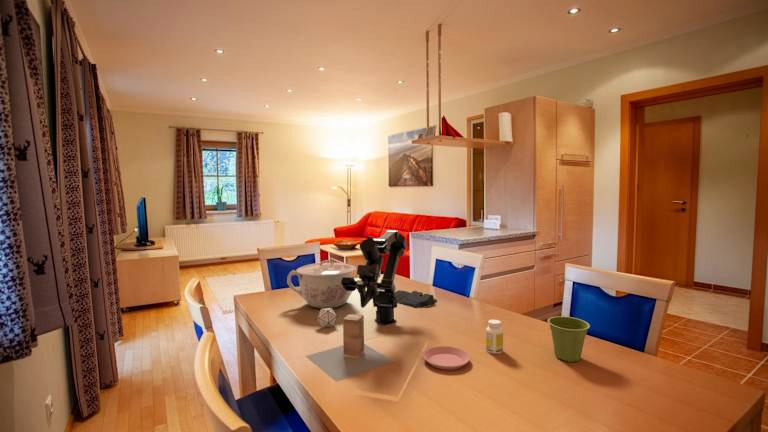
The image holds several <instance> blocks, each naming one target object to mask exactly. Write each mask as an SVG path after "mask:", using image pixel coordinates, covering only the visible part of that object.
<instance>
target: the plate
mask: <svg viewBox="0 0 768 432" xmlns="http://www.w3.org/2000/svg"><path fill="white" fill-rule="evenodd" d="M422 357H423V359H424V360H425V361H426V362H427V363H428V364H429V365H430V366H432V367H434V368H437V369H440V370H447V371H448V370H449V371H450V370H459V369H460V368H462V367H464V366H465V365H466V364H467V363H469V362H470V359H471V357H470V355H469V353H468V352H467V351H465V350H464V349H460V348H457V347H455V346H447V345H445V346H444V345H440V346H432V347H430V348H427V349H425V351H424V352H423V353H422Z"/></svg>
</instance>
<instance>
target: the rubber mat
mask: <svg viewBox="0 0 768 432" xmlns="http://www.w3.org/2000/svg"><path fill="white" fill-rule="evenodd" d="M305 358H307V359H308V360H309V361H311V362H312V363H313V364H314V365H315V366H317V367H318V368H319V369H321V370H322V371H323V372H324V373H325V374H326V375H328V377H331V379H333V380H334V381H335V382H339V381H342V380H345V379H348V378H350V377H354V376H357V375H360V374H362V373H366V372H368V371H372V370H375V369H376V368H380V367H383V366H386V365H389V364H391V363H394V362H395V361H394V360H392V359H391V358H390V357H387V356H386V355H384V354H383V353H381V352H379V351H377V350H375V349H374V348H372V347H370V346H369V345H367V344H366V343H364V353H363V354H362V355H361V356H360V357H359V358H352V357H345V356H344V344H343V345H340V346H337V347H332V348H329V349H326V350H321V351H319V352H315V353H312V354H308V355H305Z"/></svg>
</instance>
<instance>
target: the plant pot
mask: <svg viewBox="0 0 768 432" xmlns="http://www.w3.org/2000/svg"><path fill="white" fill-rule="evenodd" d="M547 323H548V324H549V329H550V331H551V339H552V344H553V351H554V356H555V357H556V358H557V359H558V358H559V359H558V360H560V359H561V361H562V360H563V361H564V362H567V361H568V363H576V362H575V361H577V362H579V361H580V360H581V357H582V352H583V350H584V349H583V348H584V343H585V339H586V335H587V333H588V330H589V329H590V327H591V325H590V323H588V322H587V321H585V320H583V319H580V318H577V317H571V316H564V315H563V316H561V315H559V316H557V315H556V316H552V317H549V318H548V319H547Z"/></svg>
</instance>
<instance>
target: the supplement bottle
mask: <svg viewBox="0 0 768 432" xmlns="http://www.w3.org/2000/svg"><path fill="white" fill-rule="evenodd" d="M487 324H488V325H487V327H486V329H485V350H486V351H487V352H488V353H489V354H495V355H496V354H497V355H498V354H502V353H503V352H504V329H503V328H502V327H501V326H502V321H500V320H498V319H489V320H488V322H487Z"/></svg>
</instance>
